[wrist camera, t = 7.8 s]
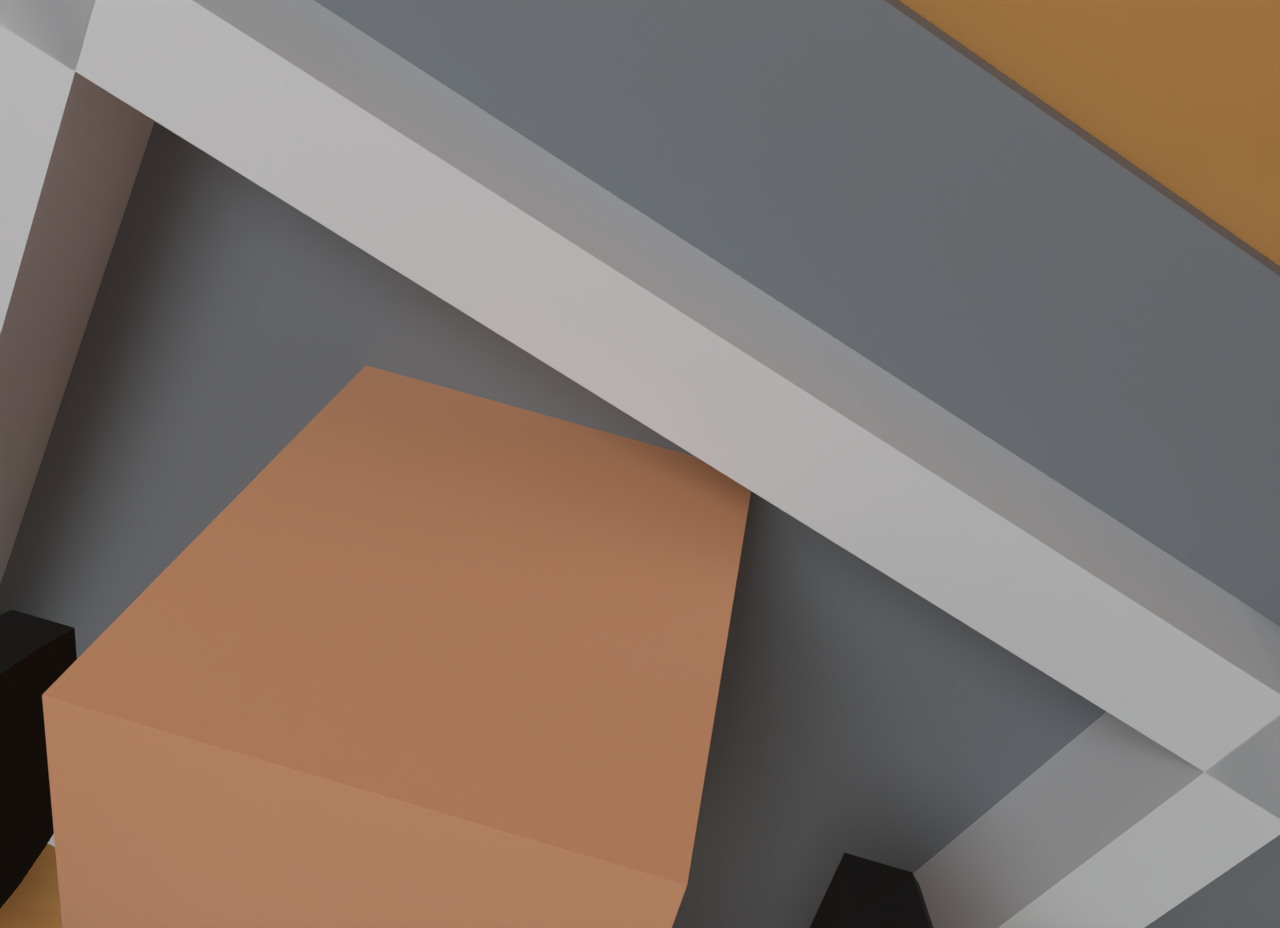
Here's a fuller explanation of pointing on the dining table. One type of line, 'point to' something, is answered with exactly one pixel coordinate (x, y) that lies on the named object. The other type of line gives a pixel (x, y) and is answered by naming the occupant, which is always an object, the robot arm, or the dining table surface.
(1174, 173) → the dining table surface
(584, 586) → the orange block
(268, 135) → the chassis
